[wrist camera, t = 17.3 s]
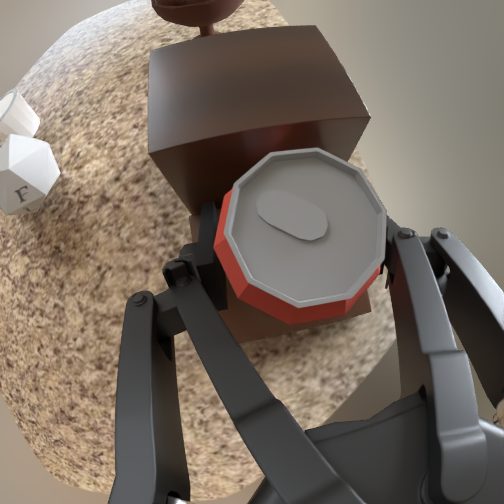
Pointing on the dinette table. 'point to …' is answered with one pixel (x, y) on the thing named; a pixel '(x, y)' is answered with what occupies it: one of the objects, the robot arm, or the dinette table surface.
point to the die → (25, 174)
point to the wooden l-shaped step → (248, 125)
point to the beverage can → (301, 235)
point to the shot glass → (16, 116)
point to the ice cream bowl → (196, 12)
